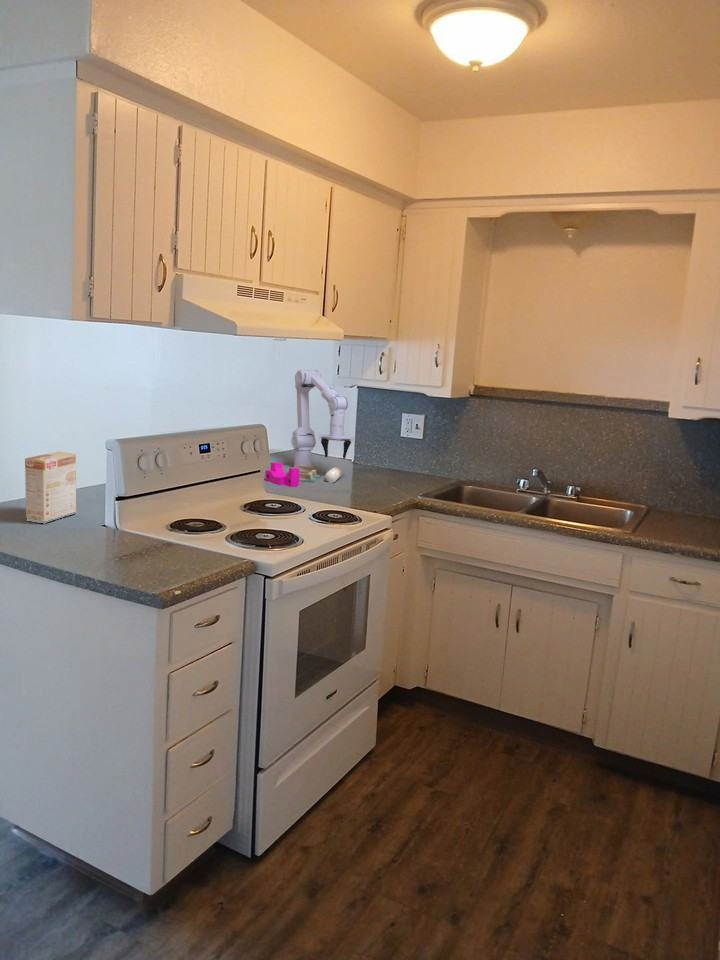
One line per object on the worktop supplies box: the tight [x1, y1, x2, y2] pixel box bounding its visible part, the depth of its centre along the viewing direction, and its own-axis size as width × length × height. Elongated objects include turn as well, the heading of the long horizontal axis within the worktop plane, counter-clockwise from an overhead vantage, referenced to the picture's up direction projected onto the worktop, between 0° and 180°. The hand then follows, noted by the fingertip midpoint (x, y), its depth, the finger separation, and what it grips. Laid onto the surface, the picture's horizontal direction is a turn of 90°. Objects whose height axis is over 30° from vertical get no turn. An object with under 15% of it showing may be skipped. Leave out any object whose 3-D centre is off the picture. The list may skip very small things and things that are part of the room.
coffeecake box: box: [24, 451, 77, 521], centre depth 235 cm, size 15×7×20 cm, turn 162°
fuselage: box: [324, 466, 343, 483], centre depth 326 cm, size 12×5×5 cm, turn 171°
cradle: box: [285, 465, 324, 483], centre depth 328 cm, size 20×14×3 cm
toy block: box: [264, 461, 300, 488], centre depth 311 cm, size 15×6×8 cm, turn 41°
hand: (335, 457), depth 324 cm, fingers open, 7 cm apart
